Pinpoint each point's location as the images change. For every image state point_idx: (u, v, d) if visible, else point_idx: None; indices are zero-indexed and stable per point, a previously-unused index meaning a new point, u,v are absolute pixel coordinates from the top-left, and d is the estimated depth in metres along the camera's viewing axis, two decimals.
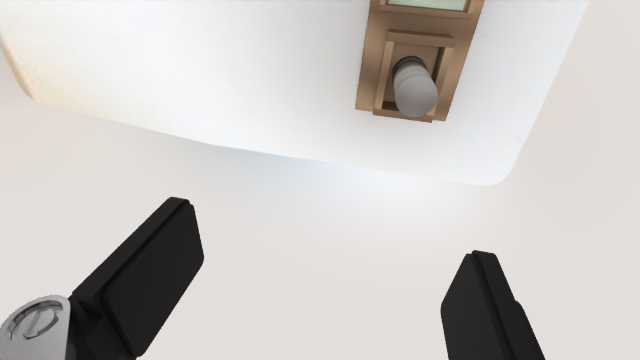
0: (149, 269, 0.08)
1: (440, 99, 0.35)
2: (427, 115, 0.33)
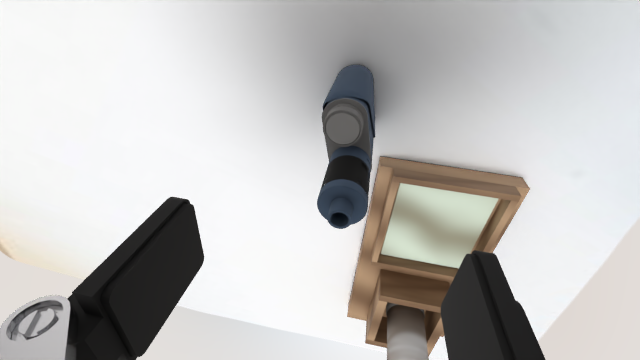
0: (149, 269, 0.08)
1: None
2: None
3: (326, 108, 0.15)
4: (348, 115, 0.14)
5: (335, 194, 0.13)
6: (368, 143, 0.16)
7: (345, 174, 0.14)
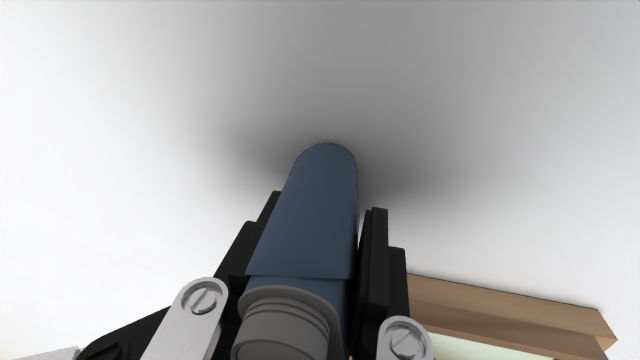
0: None
1: None
2: None
3: (245, 298, 0.07)
4: (288, 348, 0.06)
5: None
6: (341, 357, 0.07)
7: None
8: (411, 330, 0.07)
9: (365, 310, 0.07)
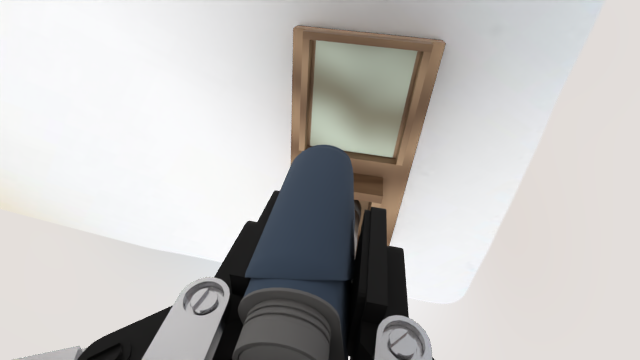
0: None
1: None
2: None
3: (246, 300, 0.07)
4: (291, 351, 0.06)
5: None
6: (341, 358, 0.07)
7: None
8: (409, 329, 0.07)
9: (364, 309, 0.07)
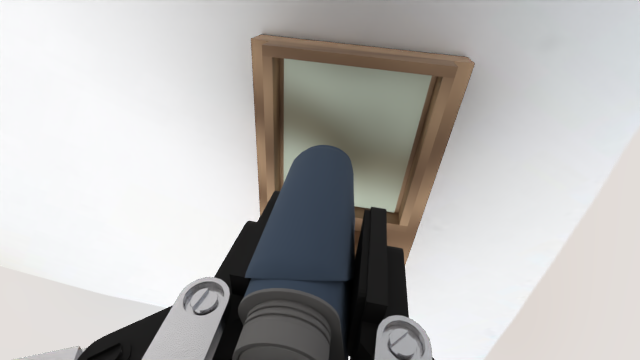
0: None
1: None
2: None
3: (246, 301, 0.07)
4: (291, 351, 0.06)
5: None
6: (341, 358, 0.07)
7: None
8: (409, 329, 0.07)
9: (364, 309, 0.07)
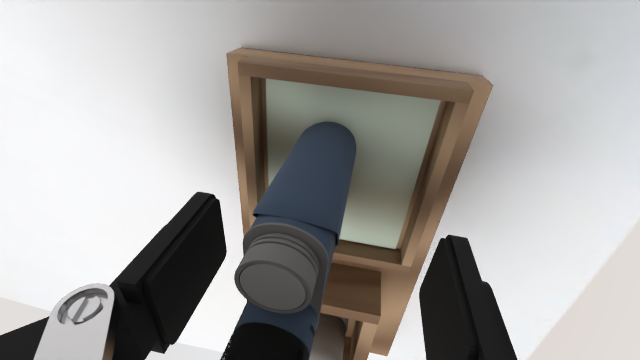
0: (182, 260, 0.09)
1: (376, 335, 0.22)
2: None
3: (253, 230, 0.08)
4: (287, 273, 0.07)
5: None
6: (319, 298, 0.09)
7: None
8: None
9: None
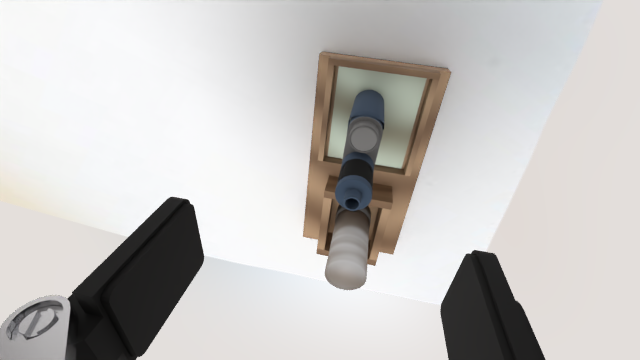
0: (149, 269, 0.08)
1: (386, 236, 0.34)
2: (370, 259, 0.32)
3: (354, 120, 0.20)
4: (371, 131, 0.19)
5: (352, 185, 0.18)
6: (376, 154, 0.21)
7: (360, 173, 0.19)
8: None
9: None
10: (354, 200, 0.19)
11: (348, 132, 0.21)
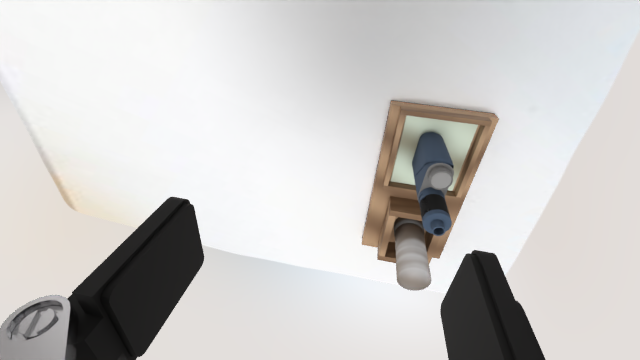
0: (149, 269, 0.08)
1: None
2: None
3: (432, 165, 0.27)
4: (447, 174, 0.26)
5: (437, 217, 0.25)
6: (447, 189, 0.28)
7: (441, 207, 0.26)
8: None
9: None
10: None
11: (426, 173, 0.27)
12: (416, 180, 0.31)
